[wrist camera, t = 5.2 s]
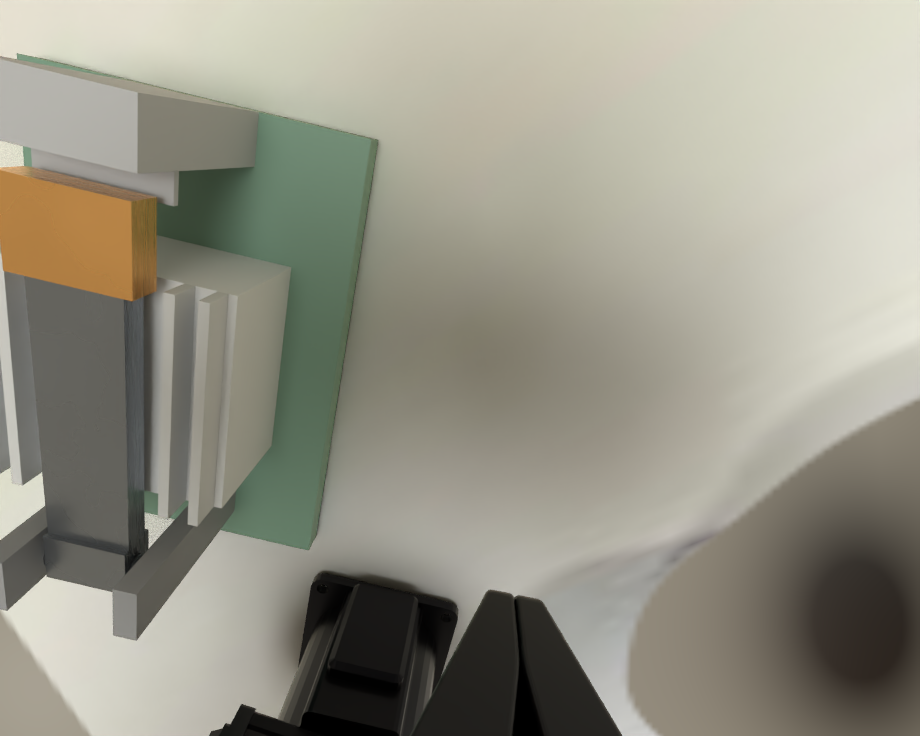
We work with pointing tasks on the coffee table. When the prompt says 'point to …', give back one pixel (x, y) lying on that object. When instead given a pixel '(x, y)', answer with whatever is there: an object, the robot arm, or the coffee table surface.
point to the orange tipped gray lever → (85, 360)
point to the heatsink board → (199, 310)
